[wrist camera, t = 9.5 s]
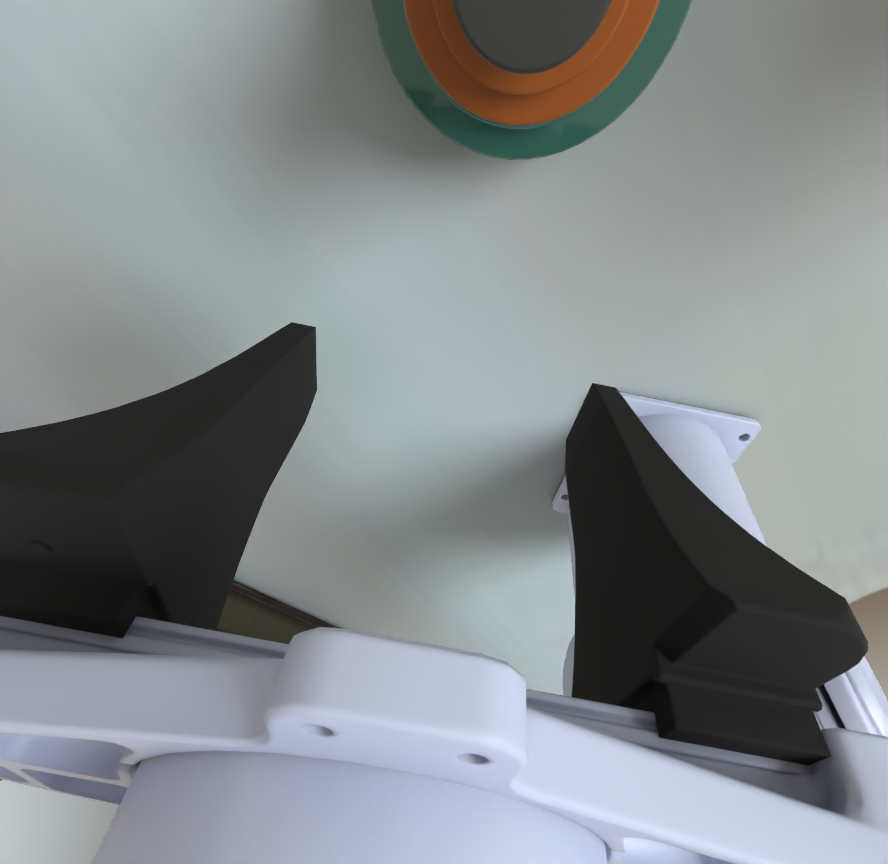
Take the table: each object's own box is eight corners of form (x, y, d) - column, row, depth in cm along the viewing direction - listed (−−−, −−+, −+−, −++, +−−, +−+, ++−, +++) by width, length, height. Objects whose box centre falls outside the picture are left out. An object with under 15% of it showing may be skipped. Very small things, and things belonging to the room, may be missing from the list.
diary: (94, 634, 55) (62, 681, 51) (162, 544, 40) (125, 602, 36) (248, 691, 61) (230, 737, 58) (354, 632, 47) (340, 688, 43)
